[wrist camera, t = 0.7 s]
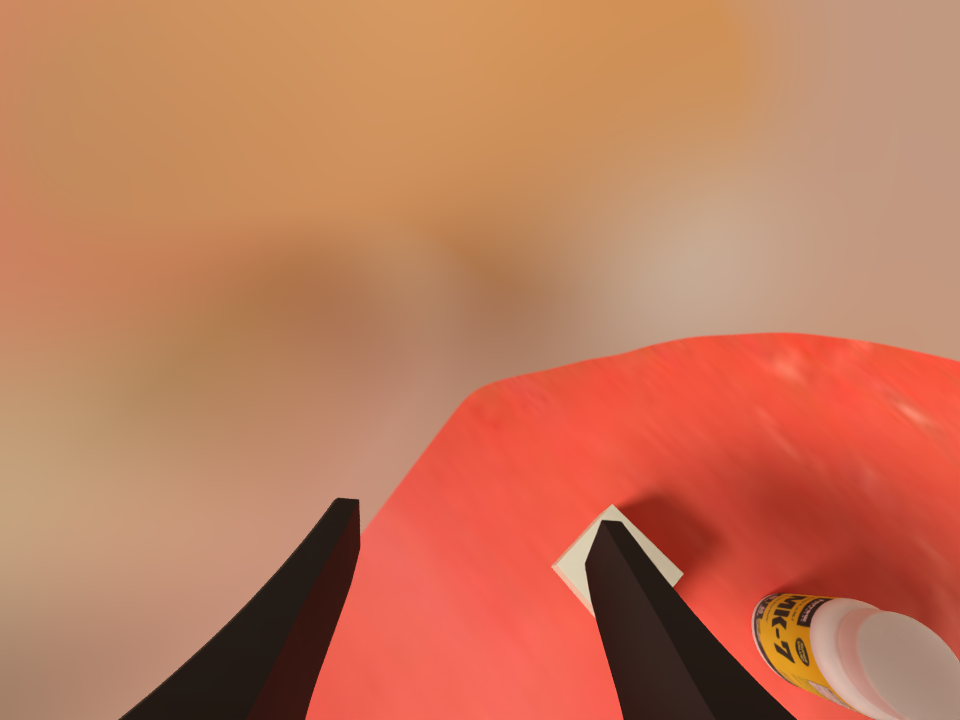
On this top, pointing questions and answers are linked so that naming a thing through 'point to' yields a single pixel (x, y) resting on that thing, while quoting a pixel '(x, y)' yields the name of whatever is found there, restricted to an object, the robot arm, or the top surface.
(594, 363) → the top surface
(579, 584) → the numbered block two
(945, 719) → the supplement bottle
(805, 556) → the top surface
